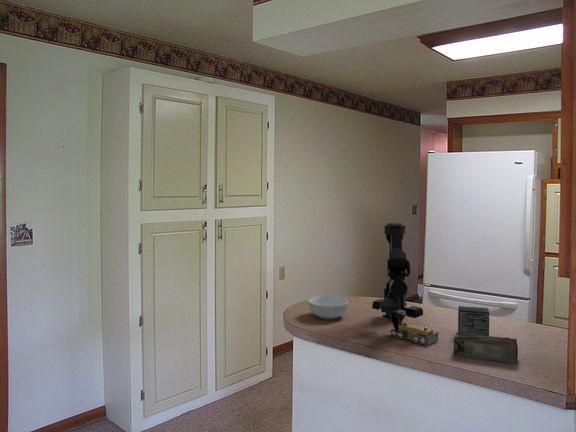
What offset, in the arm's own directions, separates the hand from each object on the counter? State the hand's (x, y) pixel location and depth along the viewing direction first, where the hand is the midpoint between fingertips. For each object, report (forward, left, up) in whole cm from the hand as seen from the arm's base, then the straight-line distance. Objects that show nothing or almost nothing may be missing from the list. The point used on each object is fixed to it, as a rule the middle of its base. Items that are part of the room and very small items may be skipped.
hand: (396, 330), depth 175 cm
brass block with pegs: (0, +8, -1) cm, 8 cm away
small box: (-17, +22, -2) cm, 28 cm away
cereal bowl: (0, -33, -2) cm, 33 cm away
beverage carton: (-1, +33, -2) cm, 33 cm away
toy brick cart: (0, +7, -1) cm, 7 cm away
